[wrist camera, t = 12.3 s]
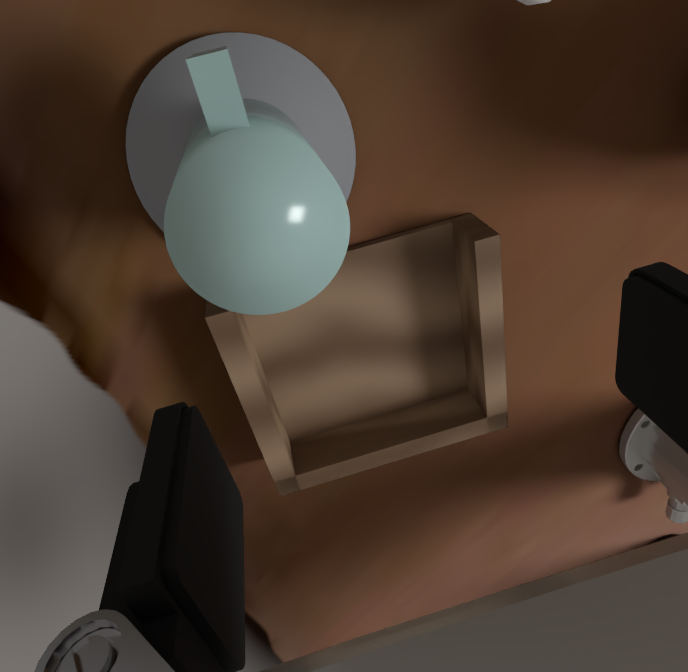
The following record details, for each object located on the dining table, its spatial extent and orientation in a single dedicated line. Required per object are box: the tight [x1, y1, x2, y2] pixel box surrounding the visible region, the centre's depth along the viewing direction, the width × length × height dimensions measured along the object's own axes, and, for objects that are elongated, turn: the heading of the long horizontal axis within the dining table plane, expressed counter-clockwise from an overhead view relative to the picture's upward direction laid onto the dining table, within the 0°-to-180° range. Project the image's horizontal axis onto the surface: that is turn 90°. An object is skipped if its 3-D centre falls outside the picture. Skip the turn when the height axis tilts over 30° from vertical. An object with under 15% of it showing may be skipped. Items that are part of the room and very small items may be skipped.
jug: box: [164, 46, 350, 315], centre depth 22 cm, size 6×9×11 cm
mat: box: [126, 32, 356, 232], centre depth 27 cm, size 12×12×1 cm
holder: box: [205, 213, 508, 496], centre depth 34 cm, size 15×17×4 cm
